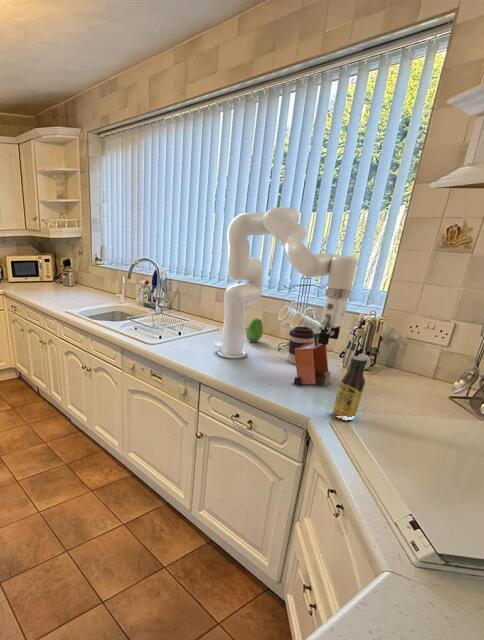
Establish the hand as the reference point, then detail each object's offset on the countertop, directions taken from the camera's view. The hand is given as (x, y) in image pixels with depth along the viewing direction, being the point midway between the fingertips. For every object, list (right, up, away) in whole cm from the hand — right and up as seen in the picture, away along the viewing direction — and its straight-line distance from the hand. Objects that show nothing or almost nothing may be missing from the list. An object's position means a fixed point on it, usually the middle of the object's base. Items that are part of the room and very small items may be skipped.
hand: (327, 341), depth 142 cm
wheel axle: (-3, -14, +10) cm, 17 cm away
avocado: (-6, +6, +58) cm, 59 cm away
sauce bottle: (-6, -26, -20) cm, 33 cm away
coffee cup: (+2, -6, +28) cm, 29 cm away
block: (0, -11, +4) cm, 12 cm away
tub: (-5, -5, +8) cm, 11 cm away
